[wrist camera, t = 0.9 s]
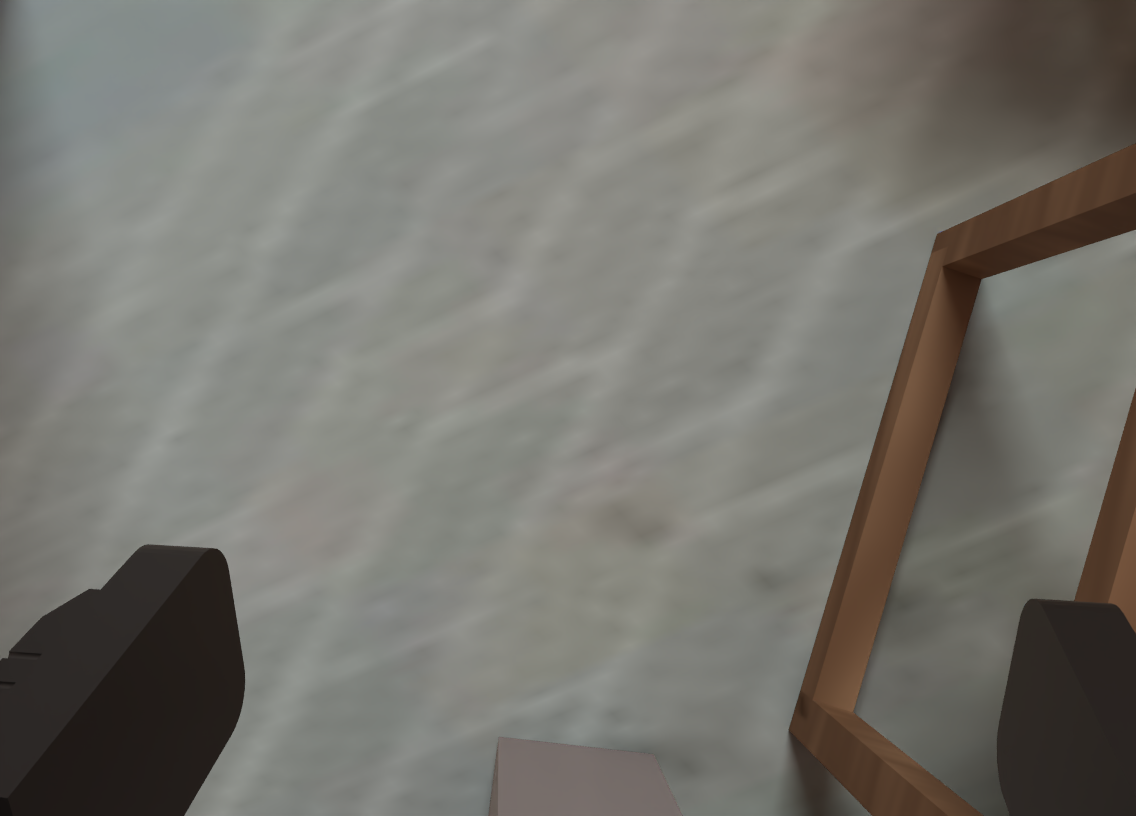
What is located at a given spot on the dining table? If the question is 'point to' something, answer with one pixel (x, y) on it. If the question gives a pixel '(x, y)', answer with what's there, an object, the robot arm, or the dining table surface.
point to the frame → (899, 457)
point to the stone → (577, 782)
